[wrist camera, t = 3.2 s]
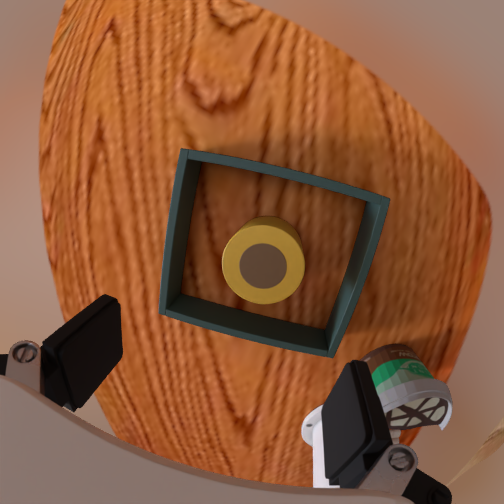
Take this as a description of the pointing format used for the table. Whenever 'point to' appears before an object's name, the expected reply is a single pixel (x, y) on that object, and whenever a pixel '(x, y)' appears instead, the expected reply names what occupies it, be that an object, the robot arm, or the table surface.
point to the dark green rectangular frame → (247, 322)
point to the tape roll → (264, 260)
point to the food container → (408, 389)
